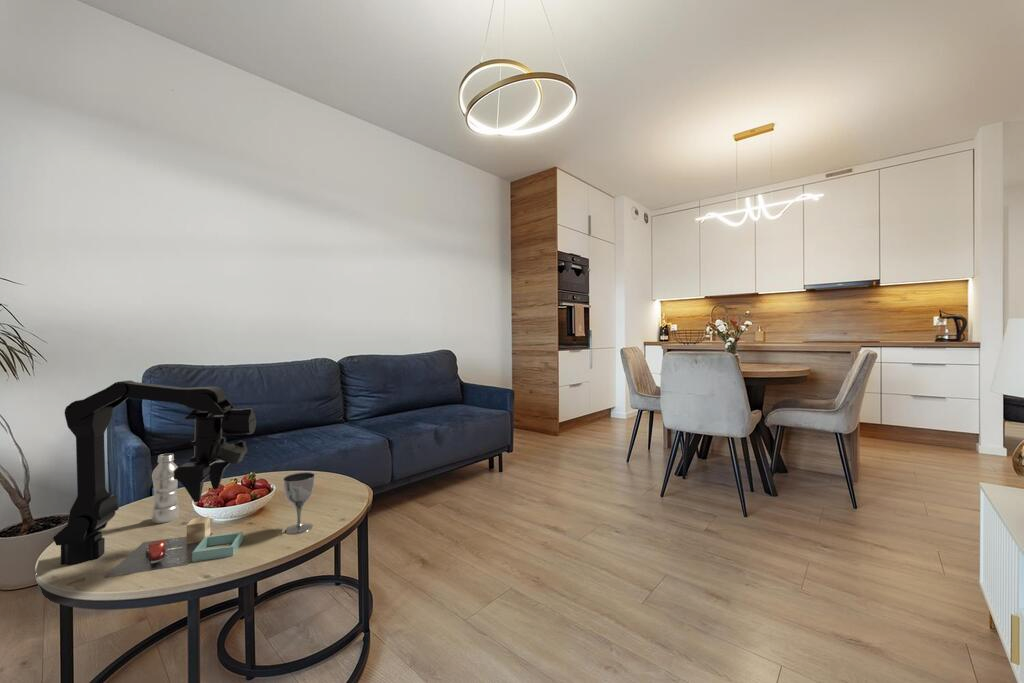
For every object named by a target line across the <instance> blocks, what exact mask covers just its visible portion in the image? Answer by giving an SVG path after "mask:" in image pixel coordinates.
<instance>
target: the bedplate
mask: <svg viewBox="0 0 1024 683" xmlns="http://www.w3.org/2000/svg"><path fill="white" fill-rule="evenodd" d="M213 534H214V533H213V532H212V533H211V532H210V536H213ZM186 537H187V536H182V537H173V538H165V539H163V540H165V557H164V558H163V561H159V562H156V563H152V564H151V561H149V560H148V554H146V546H148V545H149V544H150V543H152V542H155V541H159V540H160V539H159V540H158V539H157V540H151V541H150V540H149V541H144V542H142V543H141V544H140V545H139V546H137V547H136V548H135V549H134V550H133V551H132V552H131V553H130V554H128V555H127V556H126V557H125V558H124V559H123V560H121V562H119V563H118V565H116V566H115V567H114V568H113V569H111V571H110V572H109V573H107V574H106V575H105V576H104V578H111V577H116V576H118V577H119V576H124V575H131V574H132V575H133V574H137V573H142V572H143V573H144V572H145V573H146V572H150V571H157V570H164V569H170V568H176V567H182V566H183V567H185V566H188V565H189V564H190V562H192V552H193V551H194V550H195V549H196V547H197V546H198V545H199V544H200V542H199V543H191V544H186Z"/></svg>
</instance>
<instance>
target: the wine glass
mask: <svg viewBox="0 0 1024 683" xmlns="http://www.w3.org/2000/svg"><path fill="white" fill-rule="evenodd" d="M282 481H283V492H284V497H285V499H286V500H287V501H288V502H289V503H290V504H292V505H293V507H294V508H295V510H296V518H297V523H296V524H292V525H290V526H288V527H286V528H285V530H284V533H285V535H301V534H303V533H306V532H308V531H310V530H312V529H313V524H311V523H309V522H302V523H301V516H302V515H301V514H302V509H303V506H304V505H305V504H306V502H308V501H309V499H310V497H311V496H312V495H313V492H314V486H315V473H313V472H309V471H307V472H305V471H303V472H295V473H291V474H288V475H286V476H285V477H283V480H282Z"/></svg>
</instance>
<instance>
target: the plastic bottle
mask: <svg viewBox="0 0 1024 683" xmlns="http://www.w3.org/2000/svg"><path fill="white" fill-rule="evenodd" d="M174 457H175V454H174V453H170V452H169V453H168V452H167V453H163V454H159V455H158V456H157V463H158V464H157V466H156V467H155V468H154V469H153V471H152V473H151V478H152V479H151V480H152V487H153V504H152V509H151V510H152V511H151V515H150V519H151V522H153V523H154V524H156V525H157V524H158V525H159V524H165V523H169V522H172V521H174V520H176V519H177V518H178V517H179V515H180V506H179V500H178V486H179V485H178V484H179V483H178V482H179V481H177V479H174V470H175V469H177V468H178V467H179V466H178V465H177V464H176V463H175V462H174V461H175V458H174Z"/></svg>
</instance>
